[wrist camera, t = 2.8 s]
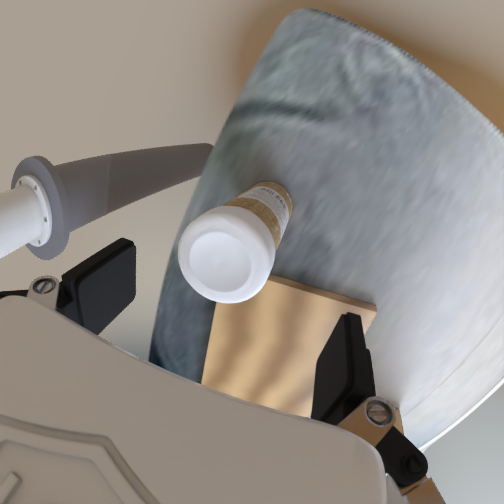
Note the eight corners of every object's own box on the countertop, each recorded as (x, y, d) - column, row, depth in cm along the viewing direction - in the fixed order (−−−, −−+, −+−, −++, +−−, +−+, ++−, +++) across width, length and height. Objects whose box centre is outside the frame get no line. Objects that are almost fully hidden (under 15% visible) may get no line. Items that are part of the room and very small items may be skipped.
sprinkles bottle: (234, 198, 25) (157, 246, 13) (275, 171, 23) (229, 193, 11) (262, 239, 26) (211, 319, 14) (303, 214, 24) (289, 282, 12)
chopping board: (202, 386, 37) (199, 393, 36) (227, 259, 28) (223, 265, 26) (304, 415, 36) (303, 423, 34) (375, 304, 26) (377, 312, 25)
